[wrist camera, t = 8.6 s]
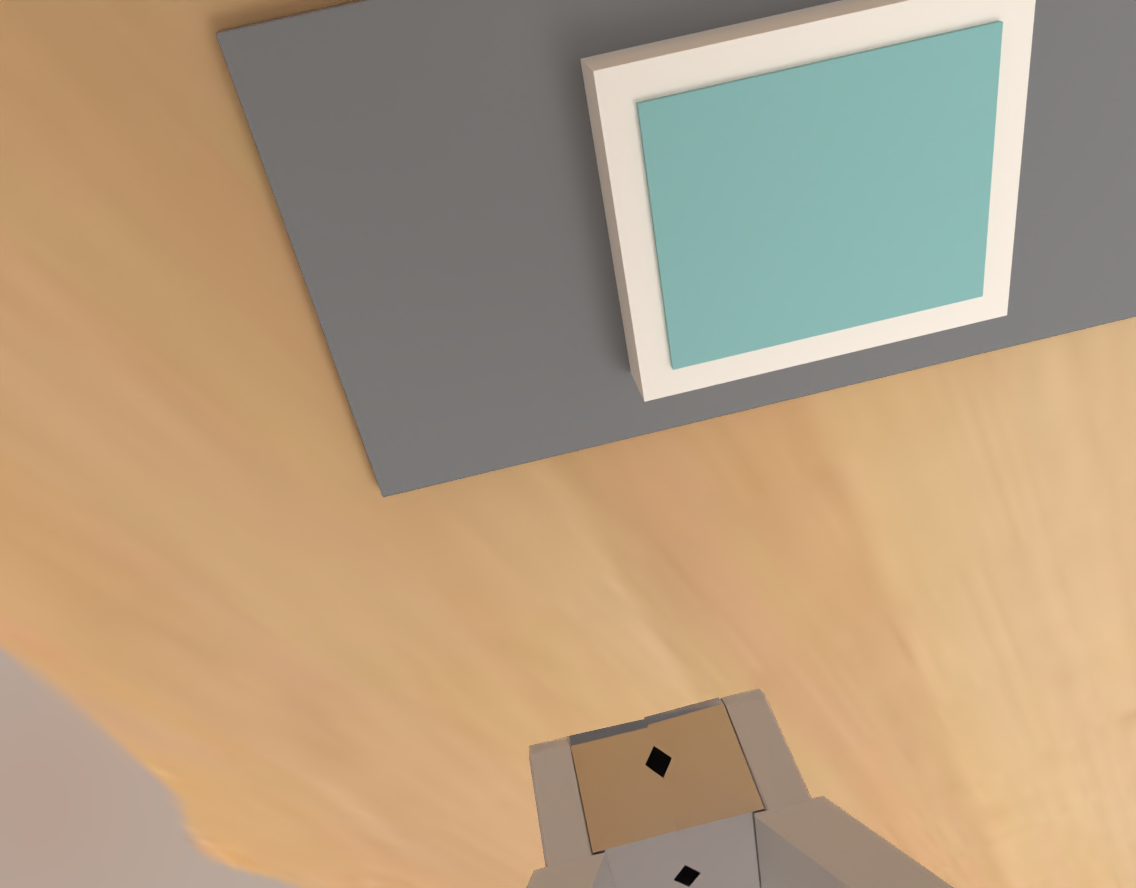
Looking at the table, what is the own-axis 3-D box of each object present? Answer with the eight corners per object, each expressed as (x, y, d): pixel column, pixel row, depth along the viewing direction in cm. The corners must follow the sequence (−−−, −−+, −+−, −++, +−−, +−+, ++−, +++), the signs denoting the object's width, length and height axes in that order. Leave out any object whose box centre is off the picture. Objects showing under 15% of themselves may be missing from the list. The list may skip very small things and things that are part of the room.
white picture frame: (594, 72, 23) (1042, -29, 24) (579, 58, 25) (996, -35, 26) (646, 404, 29) (1010, 317, 29) (630, 373, 30) (973, 291, 31)
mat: (219, 31, 24) (215, 34, 23) (1296, -206, 25) (1315, -207, 25) (383, 487, 32) (382, 497, 31) (1192, 293, 33) (1204, 300, 33)
